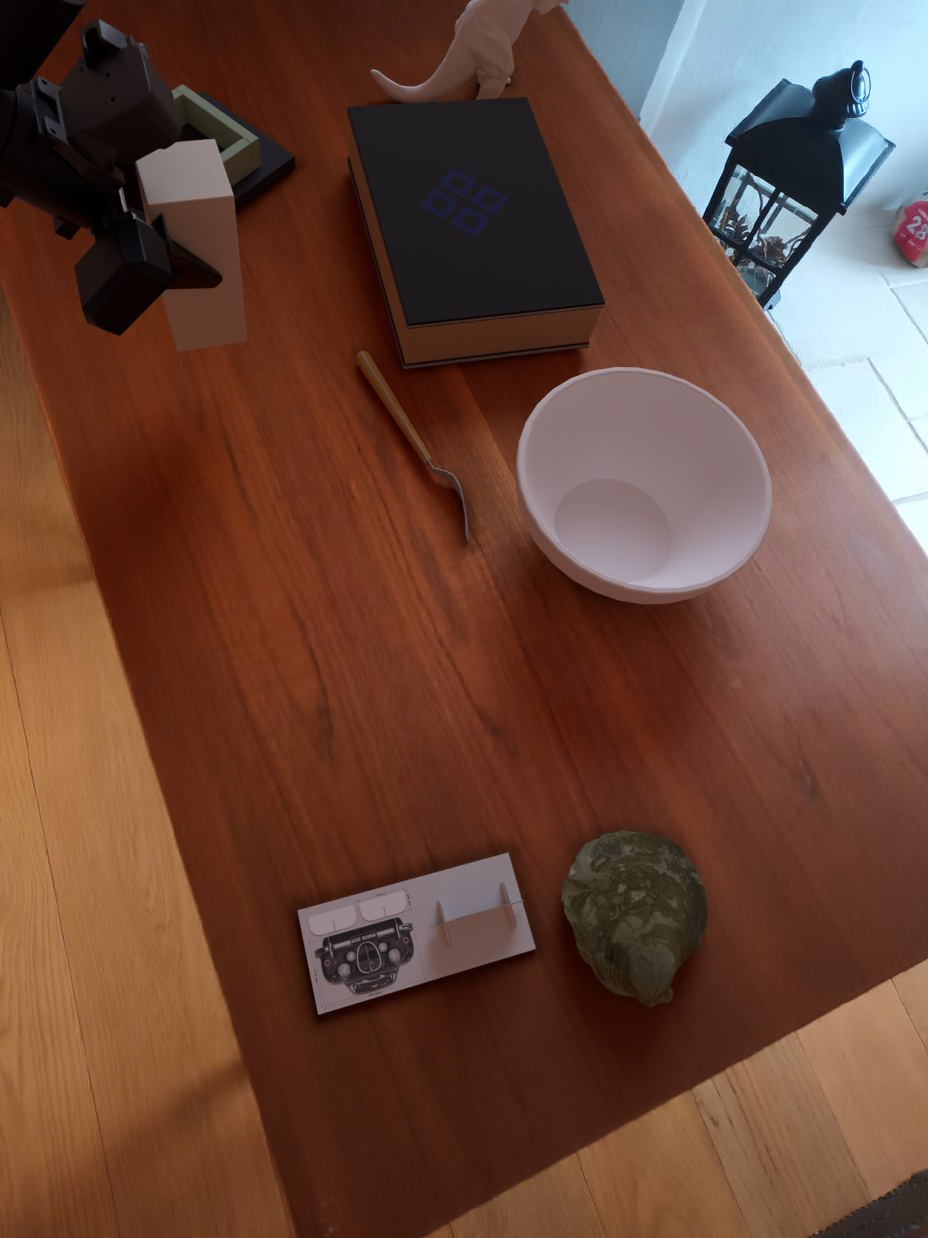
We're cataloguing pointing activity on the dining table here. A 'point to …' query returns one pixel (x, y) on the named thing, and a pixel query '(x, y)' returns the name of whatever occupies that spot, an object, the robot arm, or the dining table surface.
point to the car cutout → (414, 932)
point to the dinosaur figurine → (475, 51)
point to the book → (470, 231)
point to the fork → (403, 420)
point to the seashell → (635, 912)
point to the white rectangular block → (197, 239)
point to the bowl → (641, 485)
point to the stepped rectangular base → (230, 144)
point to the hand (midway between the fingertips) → (211, 251)
